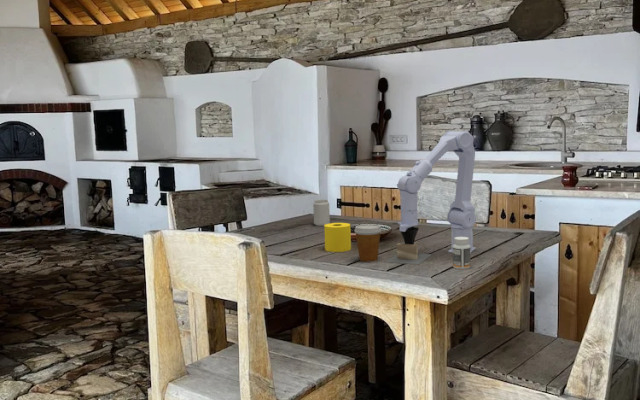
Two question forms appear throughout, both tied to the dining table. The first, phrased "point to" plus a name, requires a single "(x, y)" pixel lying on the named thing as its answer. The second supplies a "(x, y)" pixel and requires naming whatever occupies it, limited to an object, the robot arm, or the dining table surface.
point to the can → (321, 212)
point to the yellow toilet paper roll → (337, 237)
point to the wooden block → (407, 251)
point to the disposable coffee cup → (368, 241)
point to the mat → (409, 261)
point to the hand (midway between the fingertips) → (409, 248)
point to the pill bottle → (461, 253)
